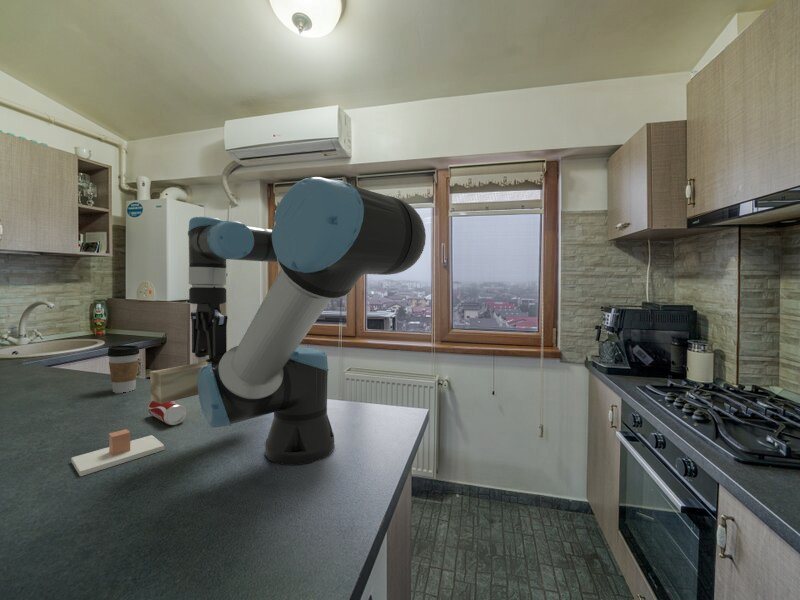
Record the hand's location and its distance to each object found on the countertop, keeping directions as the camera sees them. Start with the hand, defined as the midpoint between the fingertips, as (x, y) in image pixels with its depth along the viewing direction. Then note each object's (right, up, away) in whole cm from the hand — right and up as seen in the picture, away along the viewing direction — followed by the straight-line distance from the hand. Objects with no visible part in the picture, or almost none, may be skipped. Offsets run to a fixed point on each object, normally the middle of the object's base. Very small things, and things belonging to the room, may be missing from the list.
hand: (208, 386), depth 81 cm
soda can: (-13, -10, +9) cm, 19 cm away
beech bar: (0, -1, 0) cm, 1 cm away
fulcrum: (-15, -13, -7) cm, 21 cm away
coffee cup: (-48, -11, +35) cm, 61 cm away
